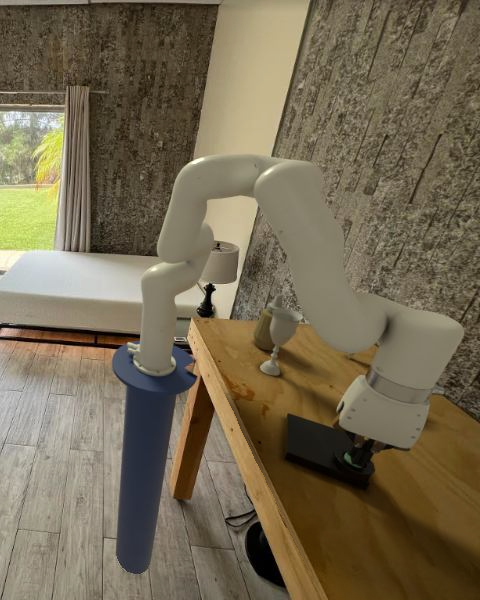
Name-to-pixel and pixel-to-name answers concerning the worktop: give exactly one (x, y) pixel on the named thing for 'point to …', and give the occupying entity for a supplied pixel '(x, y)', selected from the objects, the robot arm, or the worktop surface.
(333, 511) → the worktop surface
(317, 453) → the scale
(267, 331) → the squeeze bottle
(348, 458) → the tare button
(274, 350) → the chalice
